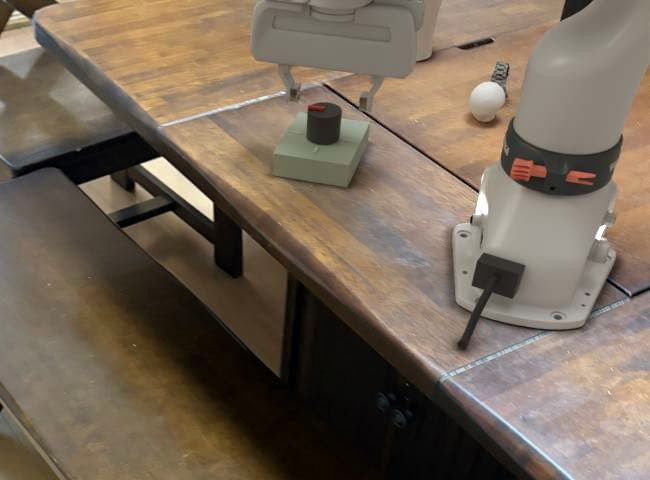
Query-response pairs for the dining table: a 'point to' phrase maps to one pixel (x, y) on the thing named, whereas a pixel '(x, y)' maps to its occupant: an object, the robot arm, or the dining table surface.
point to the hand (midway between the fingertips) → (328, 104)
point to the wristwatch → (501, 75)
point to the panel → (321, 153)
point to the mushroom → (486, 101)
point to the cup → (427, 29)
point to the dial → (323, 123)
